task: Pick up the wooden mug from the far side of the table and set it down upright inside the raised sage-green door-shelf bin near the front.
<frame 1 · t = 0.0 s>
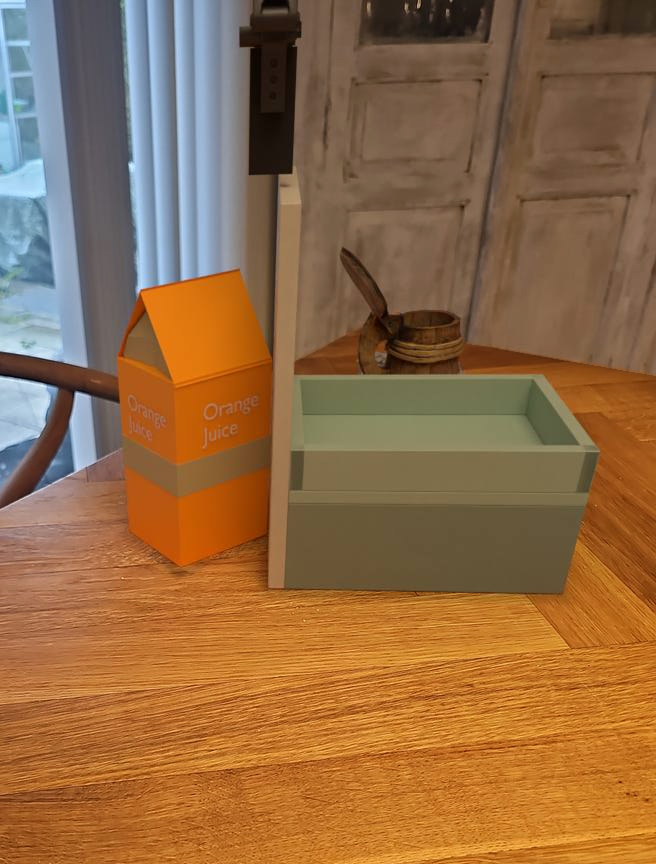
hand: (270, 159, 60), 27 cm above the table, tool pointing down, fingers open, 13 cm apart
wooden mug: (391, 436, 88), on the table
orange juice: (197, 534, 73), on the table
grey rock: (405, 390, 98), on the table
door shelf: (408, 541, 70), on the table
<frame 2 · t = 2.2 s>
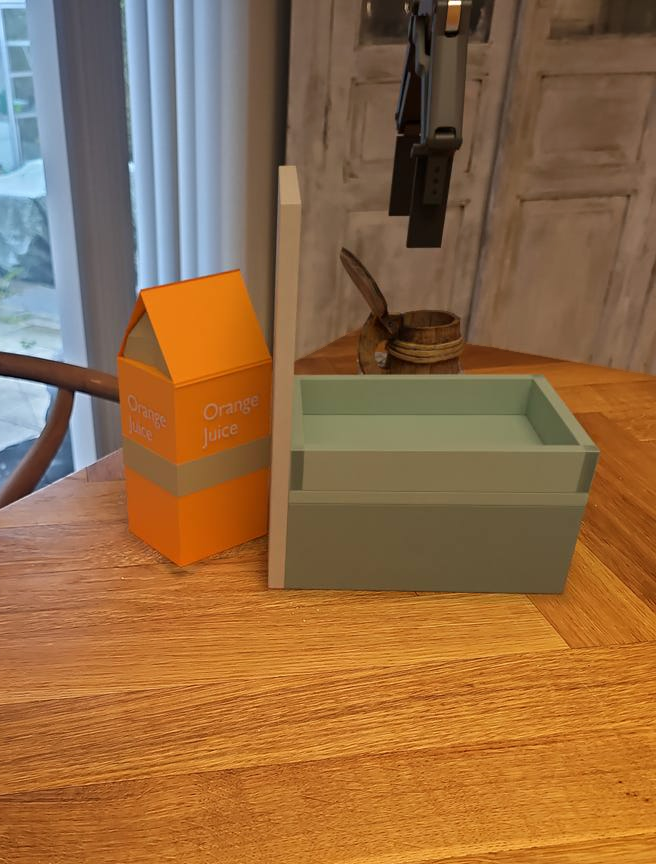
hand: (412, 230, 77), 19 cm above the table, tool pointing down, fingers open, 13 cm apart
nothing on the table moved.
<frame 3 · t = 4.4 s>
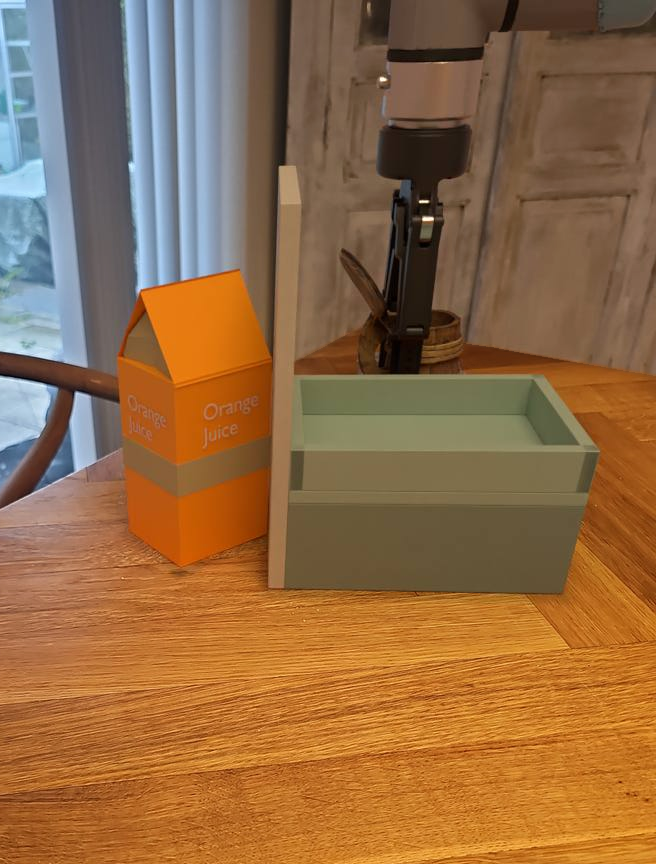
hand: (394, 393, 86), 4 cm above the table, tool pointing down, fingers closed on wooden mug, 7 cm apart
wooden mug: (391, 435, 88), on the table, touching gripper
everything else where it was.
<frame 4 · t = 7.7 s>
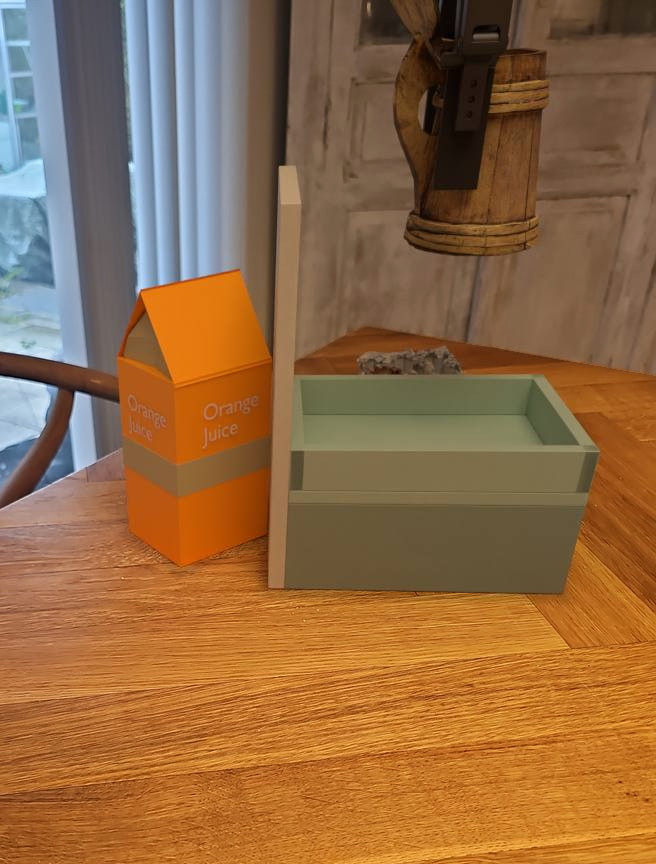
hand: (445, 179, 59), 25 cm above the table, tool pointing down, fingers closed on wooden mug, 7 cm apart
wooden mug: (438, 248, 62), point 21 cm above the table, touching gripper
everything else where it was.
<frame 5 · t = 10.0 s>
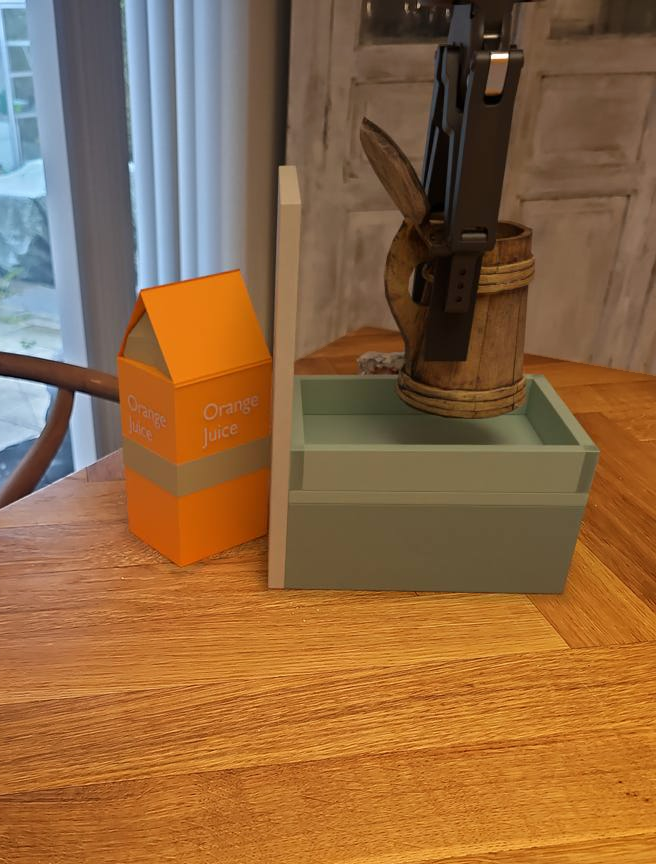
hand: (435, 341, 61), 16 cm above the table, tool pointing down, fingers closed on wooden mug, 7 cm apart
wooden mug: (428, 402, 63), point 12 cm above the table, touching gripper
everything else where it was.
when the fingers open (12 cm above the table, at t = 11.5 s): wooden mug stays where it is, resting on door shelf.
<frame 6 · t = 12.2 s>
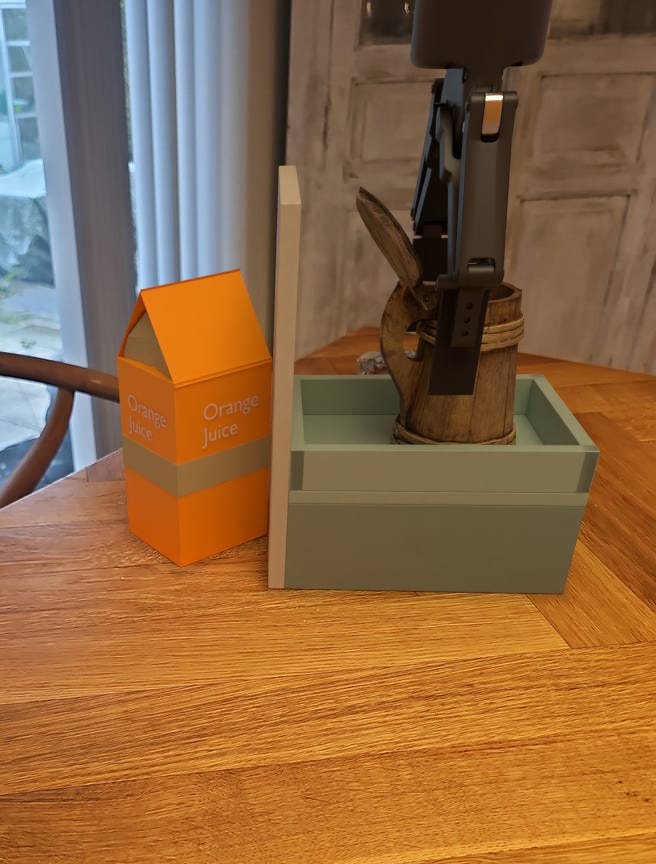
hand: (434, 359, 62), 15 cm above the table, tool pointing down, fingers open, 13 cm apart
wooden mug: (422, 451, 65), point 8 cm above the table, touching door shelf
everything else where it was.
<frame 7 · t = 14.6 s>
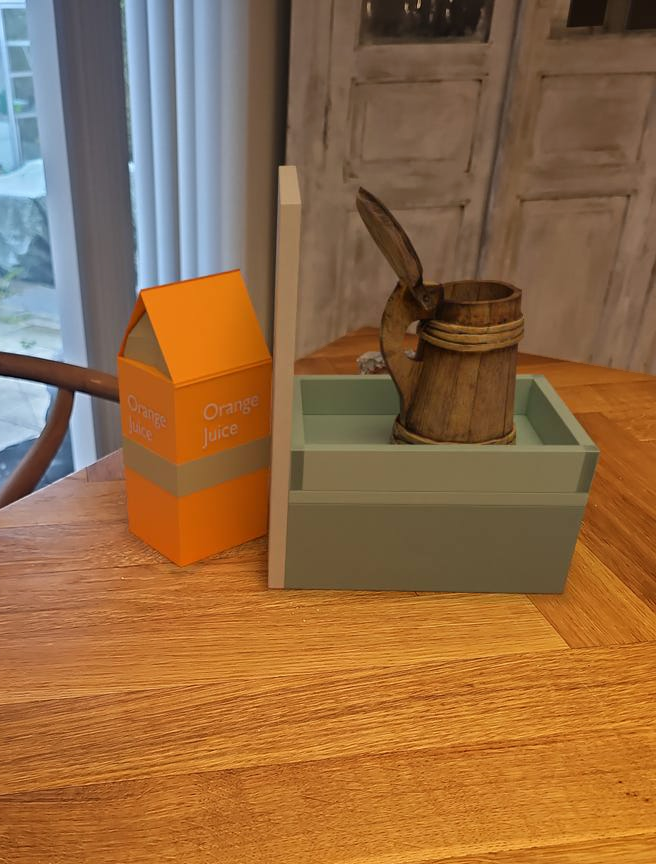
hand: (613, 28, 66), 33 cm above the table, tool pointing down, fingers open, 13 cm apart
nothing on the table moved.
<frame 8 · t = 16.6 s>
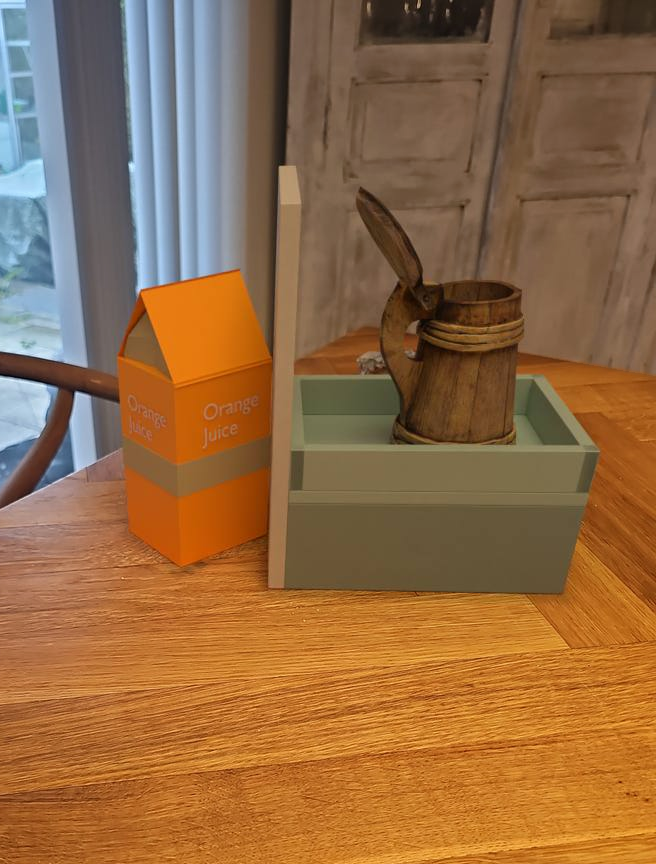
nothing on the table moved.
at the end: wooden mug inside the target area on the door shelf (0.3 cm from its centre), point 7.8 cm above the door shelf's base; wooden mug tilted 0° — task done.
